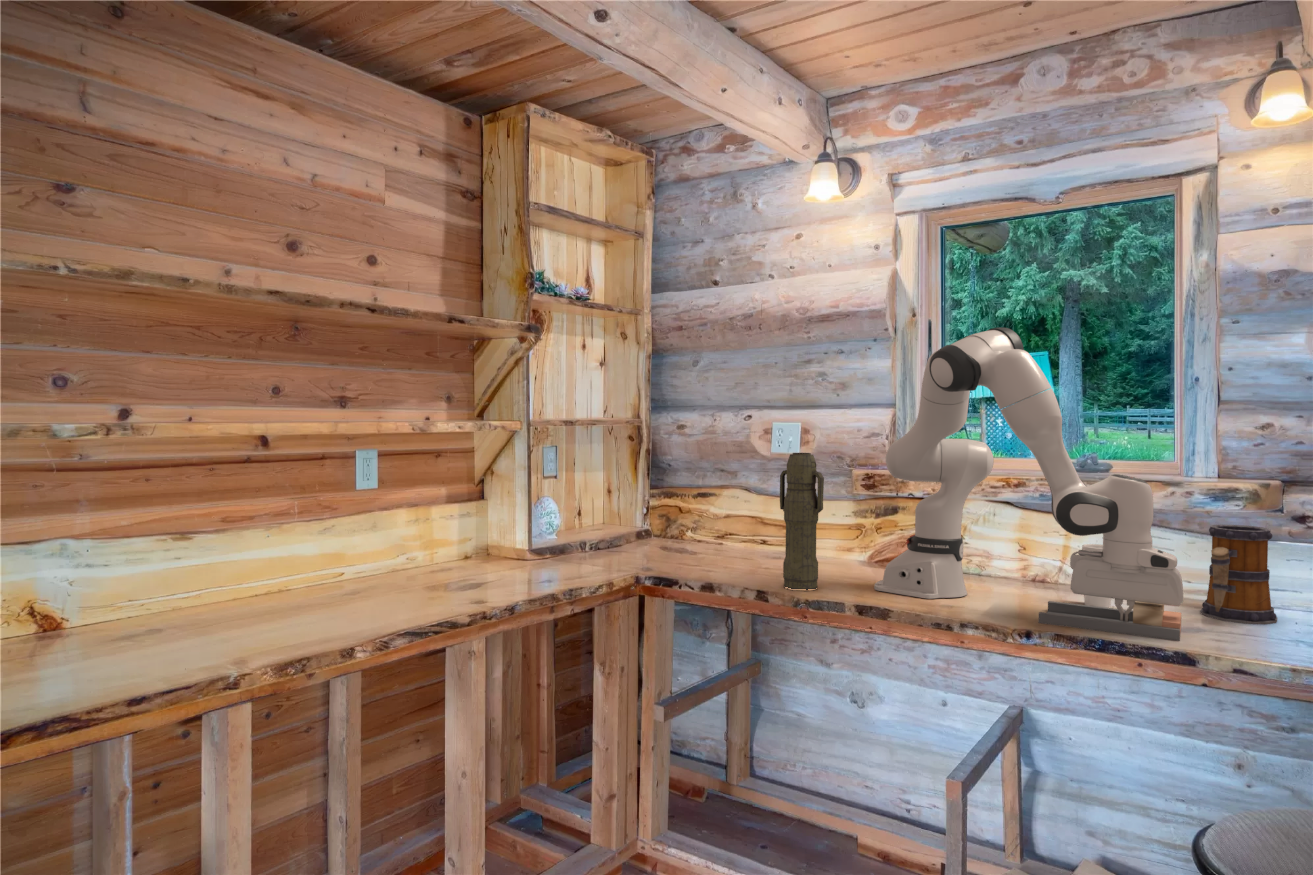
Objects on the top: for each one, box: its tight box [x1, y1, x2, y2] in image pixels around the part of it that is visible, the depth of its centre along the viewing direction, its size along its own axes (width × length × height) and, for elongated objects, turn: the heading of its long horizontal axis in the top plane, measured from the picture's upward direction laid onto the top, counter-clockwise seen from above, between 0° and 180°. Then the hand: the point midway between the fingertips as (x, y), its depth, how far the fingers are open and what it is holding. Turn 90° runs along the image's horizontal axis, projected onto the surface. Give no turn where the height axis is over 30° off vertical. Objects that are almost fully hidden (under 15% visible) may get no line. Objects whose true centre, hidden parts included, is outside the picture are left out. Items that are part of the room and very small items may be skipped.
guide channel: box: [1038, 600, 1182, 642], centre depth 173 cm, size 25×14×4 cm, turn 57°
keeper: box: [1132, 601, 1165, 627], centre depth 169 cm, size 5×9×5 cm, turn 147°
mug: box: [1199, 524, 1278, 626], centre depth 185 cm, size 19×14×20 cm
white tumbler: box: [1081, 543, 1112, 608], centre depth 191 cm, size 7×7×15 cm
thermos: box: [779, 452, 825, 590], centre depth 216 cm, size 9×12×35 cm
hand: (1124, 621), depth 171 cm, fingers closed
